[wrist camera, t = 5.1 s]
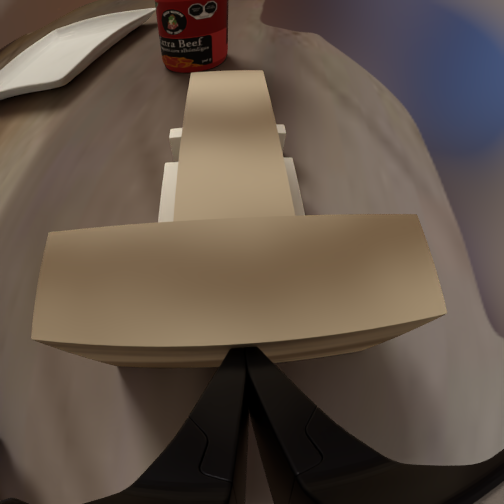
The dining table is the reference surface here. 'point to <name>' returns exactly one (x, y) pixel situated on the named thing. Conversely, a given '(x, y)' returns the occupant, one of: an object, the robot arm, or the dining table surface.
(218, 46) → the canned food
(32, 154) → the dining table surface
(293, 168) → the slot guide
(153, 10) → the square plate
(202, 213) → the t block
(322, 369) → the dining table surface
